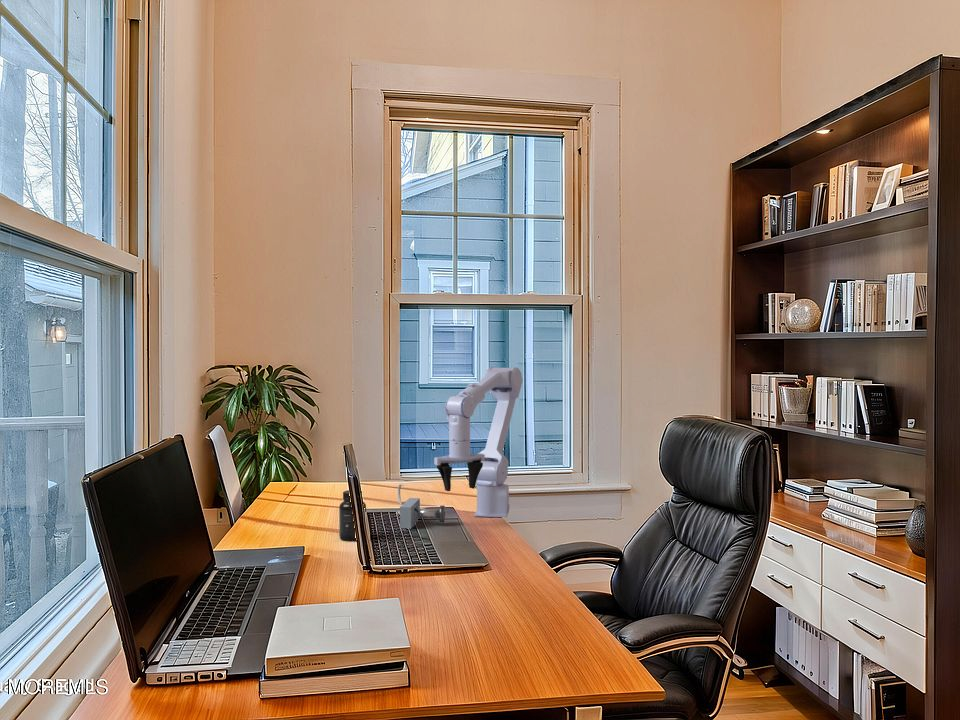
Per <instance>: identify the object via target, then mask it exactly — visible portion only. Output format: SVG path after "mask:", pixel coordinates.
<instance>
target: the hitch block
mask: <svg viewBox="0 0 960 720" xmlns="http://www.w3.org/2000/svg"><path fill="white" fill-rule="evenodd" d="M402 504H403V505H402V506H401V505H400V506H399V510H400V516H399V529H400V528H407V529H408V528H410V529H411V528H412V527H413V525H414V524H415V523H416V522H417V521H418V519H419V518H414V509H420V508H421V498H420V497H409V498H408V499H406V501H405V502H404V503H402ZM418 522H419V521H418ZM418 522H417V523H418ZM417 523H416V524H417ZM416 524H415V525H416ZM415 525H414V526H415ZM413 528H414V527H413ZM413 528H412V529H413ZM412 529H411V530H412Z"/></svg>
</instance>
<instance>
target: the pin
mask: <svg viewBox="0 0 960 720" xmlns="http://www.w3.org/2000/svg"><path fill="white" fill-rule="evenodd" d="M414 518H420V519H438V520H439V523H445V520H446V506H445V505H440V506H439V509H436V508H435V509H433V508H431V509H430V508H429V509H428V508H424V509H414Z"/></svg>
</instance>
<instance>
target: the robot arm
mask: <svg viewBox="0 0 960 720" xmlns="http://www.w3.org/2000/svg"><path fill="white" fill-rule="evenodd" d="M523 381H524V380H523V376H522V372H521V369H520V368H519V367H493V366H490V367H488V368H487V369H486V370H485V373H484V377H482V378H481V379H480V380H479V381H478V382H477V383H467V387H465V388H464V389H463V390H462V391H460V392H459V393H458V394H457V395H456V396H455V395H452V396H450V397H448V398H447V400H446V402H445V403H444V404H445V405H444V407H443V408H444V412H445V415H446V422H447V423H448V430H449V433H448V434H449V435H448V436H449V438H448V439H449V440H448V443H449V444H448V446H449V448H448V450H449V451H448V452H449V454H448V455H444V456H436V457H434V459H433V461H434V462H433V463H434V465H435V466H436V468H437V470H438V472H439V474H440V477H441V479H442V483H443V487H444V491H446V492H450V491H451V489H452V484H451V481H452V472H453V467H452V466H450V465H452V464H460V463H461V464H465V463H466V464H467V469H468V487H469V488H470V489H472V490H474V489H475V488H476V511H475V512H474V514H473V517H480V518H481V517H485V518H486V517H487V518H488V517H489V518H507V517H508V515H509V513H510V512H509V511H510V501H509V500H510V495H509V493H510V489H509V484H505V482H506V480H507V479H508V476H509V475H508V473H509V464H510V462H509V460H508V458H507V457H506V456H505V455H504V453H503V452H504V448H505V443H506V441H507V440H506V438H507V436H508V431H509V428H510V423H511V420H512V416H513V411H514V408H515V404H516V399H518V398H519V396H520V392H521V388H522V384H523ZM489 391H490V394H491V395H492V397H494V398H495V399H496V400H497V401H496V406H495V410H494V414H493V418H492V420H491V424H490V425H491V426H490V428H489V433H488V437H487V440H486V444H485V448H484V449H483V450H481V451H480V452H478V453H471V417H473V415H474V412H475V409H476V408H477V406H478V405H479V404H481V402H483V401H484V399H485V397H486V393H488V392H489Z"/></svg>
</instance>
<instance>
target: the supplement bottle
mask: <svg viewBox="0 0 960 720" xmlns="http://www.w3.org/2000/svg"><path fill="white" fill-rule="evenodd" d="M349 490H350V489H348V490H344V491H343V492H342V500H343V501H342V502H341V503H340V504H339V506H338V518H339V519H338V520H339V521H338V522H339V523H338V525H339V526H338V527H339V529H338V531H339V535H338V536H339V539H340V540H342V541H345V542H357V541H356V538H355V528H354V521H353V514H352V507H351V502H350V496H349ZM360 491H361V493H362V494H363V491H362V490H360ZM363 504H364V508H365V512H366V513H367V504H366V503H365V502H364V501H363Z"/></svg>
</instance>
